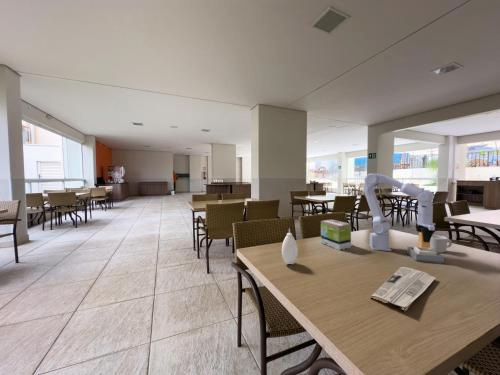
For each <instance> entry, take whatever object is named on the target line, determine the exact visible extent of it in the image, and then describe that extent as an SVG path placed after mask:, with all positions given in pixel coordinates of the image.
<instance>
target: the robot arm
mask: <svg viewBox="0 0 500 375" xmlns="http://www.w3.org/2000/svg"><path fill="white" fill-rule="evenodd" d="M363 180H364V183H363V188H362V190H363V193H364V196H365V198H366V201H367V204H368V207H369V209H370V212H371V215H372V222H371V223H372V230H373V232H370V233H369V247H370V248H371V249H372V250H373V251H384V252H385V251H386V252H387V251H388V252H392V249H391V248H390V232H389V231H390V230H391V228H392V227H391V224H390V223H389V221H388V220H387V218H386V217H385V215H383V214H384V213H383V212H382V209H381V206H380V202H379V201H378V198H377V195H376V192H375V190H376V189H377V187H378V186H379V185H380V184H387V185H389V186H392V187H395V188H396V189H400V191H401V192H402V193H403V194H405V195H407V196H409V197H411V198H413V199H416V200H417V201H418V203H417V204H418V205H417V219H416V225H415V229H416V230H417V233H418V234H419V232H422V235H423V241H424V242H428V243H429V242H430V240H431V237H432V235H434V233H435V232H436V227H435V226H436V223H435V222H434V221H433V216H434V215H433V212H434V205H433V200H434V198H435V195H434V193H433V192H432V191H431V190H429V189H428V190H427V189H425V187H424V188H423V187H419V186H416V185H415V183H413V182H411V183H410V182H409V183H403V182H400V181H399V180H396V179H395V178H392V177H390V176H388V175H385V174H381V173H379V172H377V173H368V174H367V175H366V176H365V178H364V179H363Z"/></svg>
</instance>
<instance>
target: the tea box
mask: <svg viewBox="0 0 500 375" xmlns="http://www.w3.org/2000/svg"><path fill="white" fill-rule="evenodd" d="M320 243H321V244H323V245H325V244H326V246H328V247H330V246H331V247H330V248H333V249H336V250H337V249H338V251H342V250H341V249H343V250H346V249H345V248H347V249H350V248H351V247H352V224H351V223H348V222H344V221H339V220H336V219H332V218H331V219H326V220H320Z"/></svg>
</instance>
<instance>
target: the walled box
mask: <svg viewBox="0 0 500 375" xmlns="http://www.w3.org/2000/svg"><path fill="white" fill-rule="evenodd" d="M406 247H407V249H406V250H407V252H406V253H407V255H408V256H410V257H411V258H412V259H413V260H414V261H415V262H421V263H434V264H445V256H444V255H443V254H441V253H439V252H437V251H435V250H434V249H431V248H425V247H421V246H406Z"/></svg>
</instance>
